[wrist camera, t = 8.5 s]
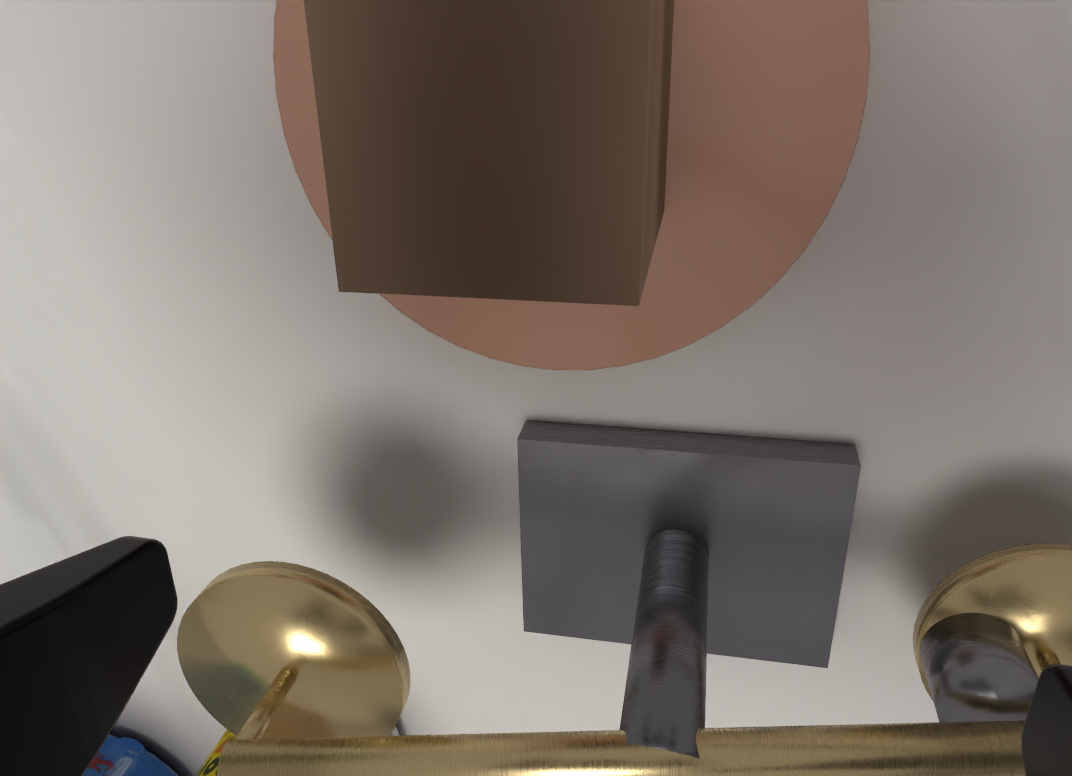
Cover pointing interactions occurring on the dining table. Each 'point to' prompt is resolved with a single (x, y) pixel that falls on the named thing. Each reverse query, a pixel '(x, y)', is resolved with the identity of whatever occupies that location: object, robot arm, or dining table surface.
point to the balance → (641, 626)
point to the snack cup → (126, 760)
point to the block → (494, 144)
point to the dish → (671, 179)
